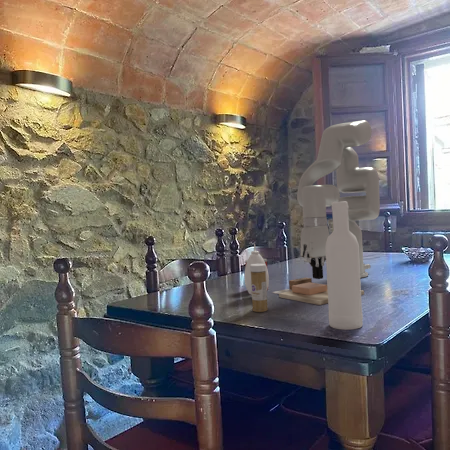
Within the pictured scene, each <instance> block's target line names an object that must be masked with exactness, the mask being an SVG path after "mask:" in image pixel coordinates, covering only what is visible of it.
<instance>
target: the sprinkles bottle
mask: <svg viewBox="0 0 450 450" xmlns="http://www.w3.org/2000/svg"><path fill="white" fill-rule="evenodd" d="M250 271H251V285H252V295H251V299H252V300H251V301H252V311H253V312H255V313H263V312H267V311H268V310H269V307H268V293H267V292H268V290H267V287H266V265H265V264H251V265H250Z"/></svg>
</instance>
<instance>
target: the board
mask: <svg viewBox="0 0 450 450" xmlns="http://www.w3.org/2000/svg"><path fill="white" fill-rule="evenodd" d="M363 295H365V290H363V289H361V296H363ZM278 296H279V298H281V299H282V298H283V299H288V300H291V301H298V302H302V303H307V304H312V305H313V304H314V305H318V306H321V305H326V304H328V288H327V291H326V292H321V293H317V294H312V295H306V294H301V293H295V292H292V291H288V292H284V293H279V294H278Z"/></svg>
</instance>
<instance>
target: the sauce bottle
mask: <svg viewBox="0 0 450 450" xmlns="http://www.w3.org/2000/svg"><path fill="white" fill-rule="evenodd" d="M253 245H254V246H253V247H254V248H253V251H250V253H251V254H250V255H249V257H248V258H247V260H248V261H247V264H246V266H245V267H244V284H245V288H246V291H247V292H248V294H249V295H251V296H252V285H251V271H250V265H251V264H265V262H264V260H263V259H264V258H263V257H262V255H261V254H260V251H258V250H257V249H256V247H257V246H256V244H255V242H254V244H253ZM265 265H266V264H265ZM269 276H270V275H269V271H268V265H267V266H266V287H267V289H268V290H269V285H270V283H269V282H270V279H269V278H270V277H269Z"/></svg>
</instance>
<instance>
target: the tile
mask: <svg viewBox="0 0 450 450" xmlns="http://www.w3.org/2000/svg"><path fill="white" fill-rule="evenodd" d="M326 291H327V284H323V283H317V282H312V283H310V282H308V283H303V284H298V285H293V286H292V292H295V293H301V294H306V295H312V294H317V293H321V292H326Z"/></svg>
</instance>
